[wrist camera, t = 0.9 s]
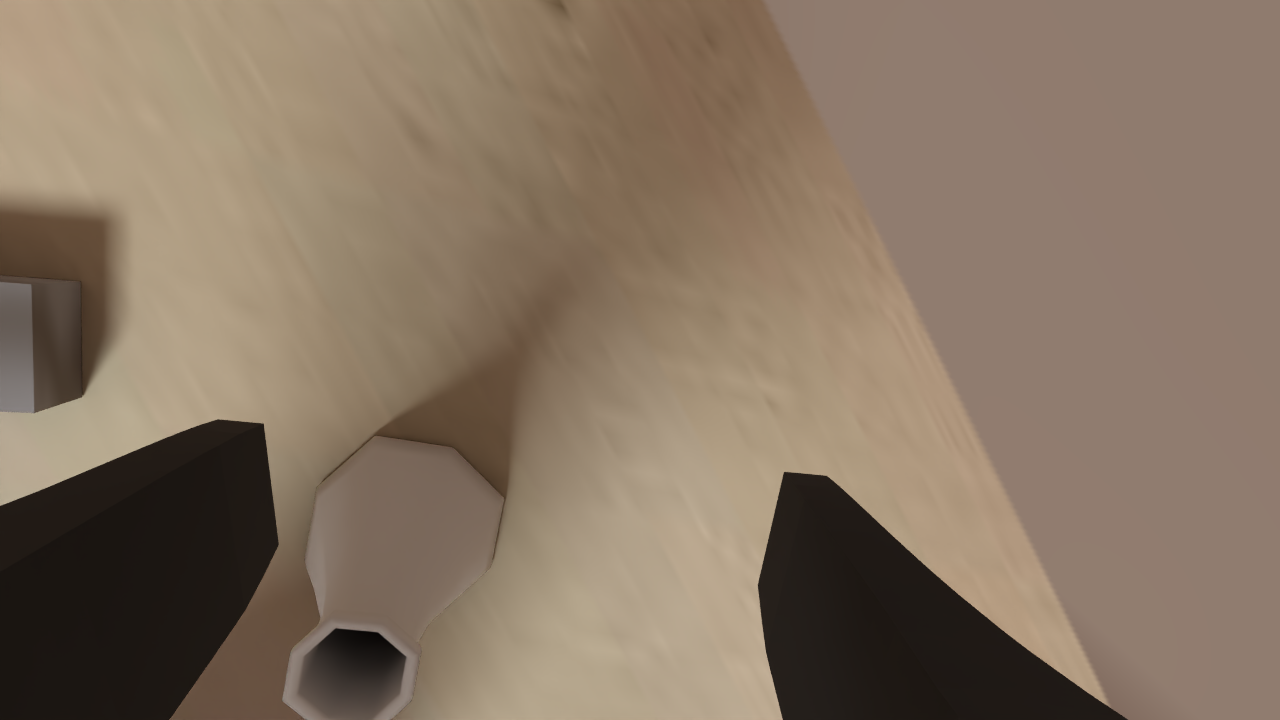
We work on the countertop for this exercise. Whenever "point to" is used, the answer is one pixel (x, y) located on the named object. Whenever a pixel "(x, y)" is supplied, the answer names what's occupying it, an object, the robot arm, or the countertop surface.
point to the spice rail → (39, 343)
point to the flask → (386, 573)
